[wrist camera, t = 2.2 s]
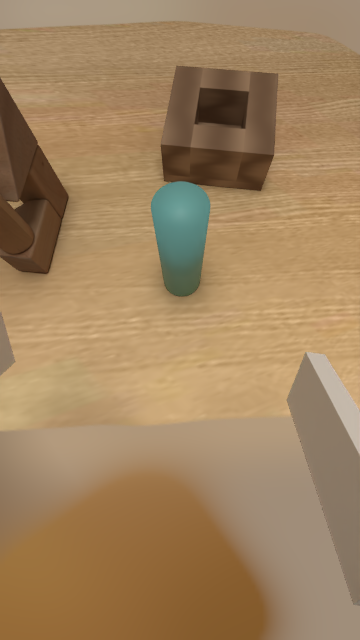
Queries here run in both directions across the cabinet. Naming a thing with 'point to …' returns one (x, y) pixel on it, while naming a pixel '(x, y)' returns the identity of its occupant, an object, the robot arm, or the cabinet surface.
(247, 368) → the cabinet surface
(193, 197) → the peg
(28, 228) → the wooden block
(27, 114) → the cabinet surface
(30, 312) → the cabinet surface
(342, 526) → the robot arm
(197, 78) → the socket block
